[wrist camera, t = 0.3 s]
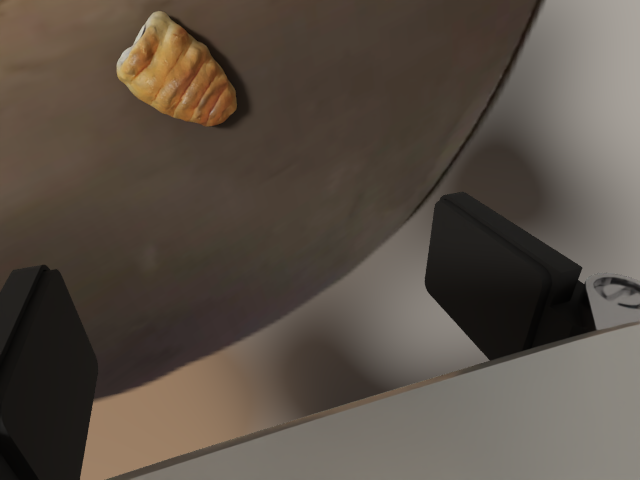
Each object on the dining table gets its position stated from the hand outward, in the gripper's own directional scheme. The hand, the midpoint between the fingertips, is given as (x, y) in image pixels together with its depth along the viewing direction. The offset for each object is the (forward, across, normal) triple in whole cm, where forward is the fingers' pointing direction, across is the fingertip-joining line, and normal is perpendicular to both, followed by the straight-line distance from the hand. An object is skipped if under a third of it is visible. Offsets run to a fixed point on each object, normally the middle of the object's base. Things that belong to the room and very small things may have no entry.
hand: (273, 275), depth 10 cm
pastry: (+31, +1, -1) cm, 31 cm away
